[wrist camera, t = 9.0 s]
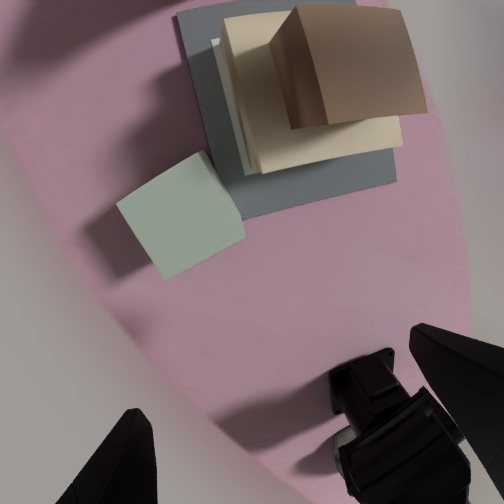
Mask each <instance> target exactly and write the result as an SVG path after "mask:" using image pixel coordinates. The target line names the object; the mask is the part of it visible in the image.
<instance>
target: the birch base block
mask: <svg viewBox="0 0 504 504" xmlns="http://www.w3.org/2000/svg"><path fill="white" fill-rule="evenodd" d="M290 13H291V11H280V12H268V13H259V14H251V15H244V16H237V17H231V18H225V19H224V20H223V25H222V30H221V36H220V41H219V46H220V49H221V53H222V57H223V61H224V65H225V69H226V72H227V76H228V80H229V84H230V88H231V92H232V96H233V100H234V104H235V108H236V112H237V116H238V120H239V124H240V128H241V132H242V136H243V140H244V144H245V148H246V152H247V156H248V161H249V165H250V168H252V169H254V170H256V171H258V172H260V173H262V174H264V173H268V172H272V171H277V170H281V169H285V168H290V167H294V166H298V165H303V164H308V163H312V162H317V161H322V160H327V159H332V158H337V157H342V156H347V155H352V154H358V153H363V152H369V151H375V150H381V149H387V148H393V147H399V146H403V142H402V136H401V130H400V124H399V118H398V116H388V117H379V118H371V119H363V120H355V121H348V122H341V123H335V124H329V125H321V126H313V127H306V128H299V129H293V130H291V126H290V122H289V118H288V114H287V110H286V106H285V102H284V98H283V94H282V90H281V86H280V82H279V78H278V75H277V71H276V67H275V64H274V60H273V56H272V53H271V49H270V46H269V42H270V40H271V39H272V38H273V36H274V35H275V33H276V32H277V30H278V29H279V28H280V26H281V25H282V24H283V22H284V21H285V19H286V18H287V17H288V15H289V14H290Z"/></svg>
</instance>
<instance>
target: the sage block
mask: <svg viewBox="0 0 504 504" xmlns="http://www.w3.org/2000/svg"><path fill="white" fill-rule="evenodd" d="M116 205H117V207H118V208H119V210H120V212H121V213H122V215H123V216H124V218H125V220H126V221H127V223H128V224H129V226H130V228H131V229H132V231H133V232H134V234H135V235H136V237H137V238H138V240H139V242H140V243H141V245H142V246H143V248H144V249H145V251H146V252H147V254H148V255H149V257H150V258H151V260H152V261H153V263H154V264H155V266H156V267H157V268H158V270H159V271H160V273H161V274H162V276H163V277H164V279H165V280H168V279H170V278H171V277H173V276H175V275H177V274H179V273H181V272H182V271H184V270H186V269H188V268H190V267H192V266H193V265H195V264H197V263H199V262H201V261H203V260H204V259H206V258H208V257H210V256H212V255H214V254H216V253H217V252H219V251H221V250H223V249H225V248H227V247H229V246H230V245H232V244H234V243H236V242H238V241H240V240H242V239H244V238H245V237H246V236H245V232H244V227H243V223H242V219H241V214H240V213H239V211H238V209H237V207H236V206H235V204H234V202H233V200H232V198H231V197H230V195H229V193H228V191H227V190H226V188H225V186H224V184H223V183H222V181H221V179H220V177H219V175H218V174H217V172H216V170H215V168H214V167H213V165H212V163H211V161H210V160H209V158H208V156H207V154H206V153H205V151H204V150H202V151H199V152H197V153H195V154H193V155H192V156H190V157H188V158H187V159H185V160H183V161H181V162H180V163H178V164H176V165H175V166H173V167H171V168H170V169H168V170H167V171H165V172H163V173H162V174H160V175H158V176H157V177H155V178H154V179H152V180H151V181H149V182H147V183H146V184H144V185H143V186H141V187H140V188H138V189H137V190H135V191H134V192H132V193H131V194H129V195H128V196H126V197H125V198H123V199H122V200H120V201H119V202H117V203H116Z"/></svg>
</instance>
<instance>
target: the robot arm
mask: <svg viewBox="0 0 504 504" xmlns="http://www.w3.org/2000/svg"><path fill="white" fill-rule="evenodd" d="M409 349H410V352H411V354H412V355H413V357H414V359H415V361H416V362H417V364H418V366H419V368H420V370H421V371H422V373H423V375H424V377H425V379H426V380H427V382H428V384H429V385H430V387H431V388H432V390H433V391H434V393H435V394H436V395H437V397H438V398H439V400H440V401H441V403H442V404H443V405H444V407H445V408H446V410H447V411H448V413H449V414H450V416H451V417H452V418H451V417H450V416H449V414H448V413H447V412H446V411H445V410H444V408H443V407H442V406H441V405H440V404H439V403H438V402H437V400H436V399H435V398H434V397H433V396H432V395H431V394H430V392H429V391H428V390H427V389H426V388H425V387H424V386H423V387H421V388H420V389H419V391H418V392H417V393H416V394H415V395H413V396H412V397H411V396H410V395H409V394H408V392H407V391H406V390H405V388H404V387H403V386H402V385H401V383H400V382H399V381H398V379H397V378H396V377H395V375H394V374H393V367H394V355H395V351H394V350H393V349H392V348H387V349H385V350H382V351H380V352H378V353H375V354H373V355H370V356H368V357H366V358H363V359H361V360H358V361H355V362H353V363H350V364H348V365H345V366H342V367H340V368H337V369H334V370H332V371H331V372H330V373H329V383H330V393H331V403H332V411H333V413H334V415H339V414H341V413H344V414H345V416H346V418H347V420H348V422H349V423H350V425H351V427H352V429H353V431H354V433H355V435H356V438H355V439H353V440H352V441H350V442H349V443H347V444H345V445H342V446H340V447H339V448H338V451H339V455H340V456H339V458H340V462H341V466H342V470H343V475H344V479H345V483H346V487H347V492H348V494H349V495H350V496H352V497H355V499H356V500H357V501H358V502H359V503H360V504H471V503H470V501H469V500H468V495H469V484H470V482H471V470H470V462H469V460H468V459H467V457H466V456H465V454H464V453H463V452H462V450H461V449H460V447H459V446H458V444H460V443H461V442H462V441H463V440H464V439H465V438H466V439H467V441H468V443H469V444H470V446H471V447H472V449H473V450H474V452H475V453H476V455H477V456H478V458H479V460H480V461H481V463H482V465H483V466H484V468H485V469H486V471H487V473H488V475H489V476H490V478H491V480H492V481H493V483H494V484H495V486H496V488H497V490H498V491H499V493H500V495H501V497H502V498H503V500H504V348H502V347H499V346H496V345H492V344H489V343H486V342H483V341H479V340H476V339H473V338H469V337H466V336H463V335H460V334H457V333H453V332H450V331H447V330H444V329H441V328H437V327H434V326H431V325H428V324H425V323H419V324H417V325H415V326H413V327H412V328H411V330H410V340H409ZM335 374H336V375H335ZM452 419H453V420H454V421H455V422H454V421H453V420H452ZM455 423H456V424H457V425H456V424H455ZM458 427H459V428H458ZM460 430H461V431H460ZM462 433H463V434H462ZM464 436H465V437H464ZM55 504H158V500H157V466H156V457H155V448H154V439H153V429H152V426H151V423H150V422H149V420H148V419H147V418H146V417H145V415H144V414H143V412H142V411H141V410H140V409H139V408H134V409H128V410H126V411H125V413H124V414H123V415H122V417H121V418H120V419H119V421H118V422H117V423H116V425H115V426H114V427H113V429H112V430H111V431H110V433H109V434H108V435H107V437H106V438H105V439H104V441H103V442H102V443H101V445H100V446H99V447H98V448H97V450H96V451H95V453H94V454H93V455H92V456H91V458H90V459H89V460H88V462H87V463H86V464H85V466H84V467H83V468H82V470H81V471H80V472H79V474H78V475H77V476H76V478H75V479H74V480H73V483H71V484H70V486H69V487H68V488H67V490H66V491H65V492H64V493H63V495H62V496H61V497H60V498H59V500H58V501H57V502H56V503H55Z"/></svg>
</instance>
